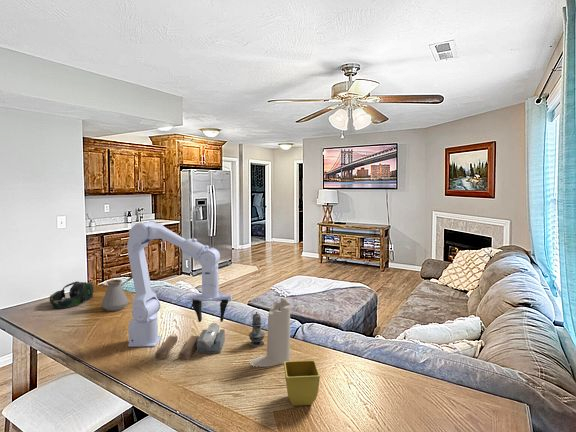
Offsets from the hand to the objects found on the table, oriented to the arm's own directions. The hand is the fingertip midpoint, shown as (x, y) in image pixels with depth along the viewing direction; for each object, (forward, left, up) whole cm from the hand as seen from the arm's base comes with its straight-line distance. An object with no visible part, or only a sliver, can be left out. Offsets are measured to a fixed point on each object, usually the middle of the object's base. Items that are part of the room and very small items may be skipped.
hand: (210, 320), depth 129 cm
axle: (0, -1, -5) cm, 5 cm away
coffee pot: (-50, +45, -10) cm, 68 cm away
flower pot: (+30, -33, -10) cm, 46 cm away
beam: (-11, -2, -9) cm, 15 cm away
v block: (0, 0, -9) cm, 9 cm away
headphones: (-76, +49, -10) cm, 91 cm away
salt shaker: (+16, +2, -10) cm, 19 cm away
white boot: (+21, -11, -10) cm, 26 cm away
